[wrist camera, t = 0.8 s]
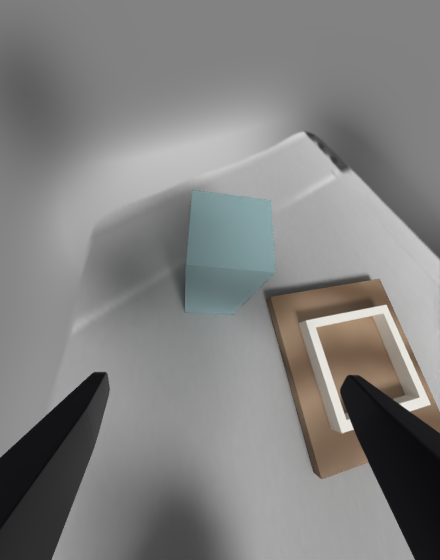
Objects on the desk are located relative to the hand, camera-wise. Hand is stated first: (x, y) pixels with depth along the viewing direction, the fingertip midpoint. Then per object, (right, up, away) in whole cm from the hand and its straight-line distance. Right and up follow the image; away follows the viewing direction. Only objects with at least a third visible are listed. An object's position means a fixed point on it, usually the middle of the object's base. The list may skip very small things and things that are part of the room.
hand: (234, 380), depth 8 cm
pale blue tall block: (-2, +3, +16) cm, 16 cm away
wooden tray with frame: (+13, -5, +15) cm, 21 cm away
